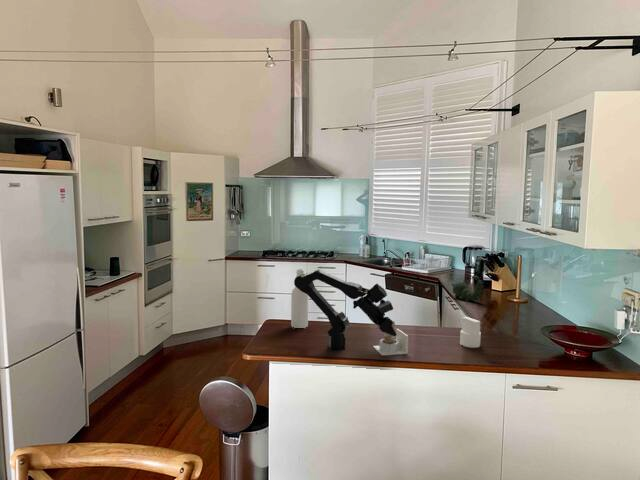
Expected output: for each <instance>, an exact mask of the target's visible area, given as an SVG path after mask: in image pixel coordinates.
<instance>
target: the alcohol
mask: <svg viewBox="0 0 640 480" xmlns="http://www.w3.org/2000/svg"><path fill="white" fill-rule="evenodd" d="M295 273H296V277H297V276H300V275H302V274H305V269H304V268H303V269H302V268H297V269H296V272H295ZM296 277H295V278H296ZM290 298H291V301H290V302H291V303H290V308H291V309H290V326H291V328H293V327H294V328H293V329H295V328H304V329H307V328H308V326H309V296H308V295H307V294H306V293H304V292H302V291H300V290H299V289H298V288H297V287H296V286H295V285H294V288H293V289H292V290H291V297H290ZM306 327H307V328H306Z"/></svg>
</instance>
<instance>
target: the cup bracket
mask: <svg viewBox="0 0 640 480" xmlns="http://www.w3.org/2000/svg"><path fill="white" fill-rule="evenodd" d="M395 330H396V331H395V332H396V334H397V335H396V336H395V338H394V344H387V343H384V338H382V339H380V340H379V344H378V345H372V347H373V349H375V350H376V351H377V352H378V353H379V355H381V356H395V355H396V356H397V355H408V349H409V335H408V334H406V333H405V332H403V331H402V330H401V329H399V328H396V329H395Z"/></svg>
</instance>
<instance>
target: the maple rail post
mask: <svg viewBox="0 0 640 480" xmlns="http://www.w3.org/2000/svg"><path fill="white" fill-rule="evenodd" d="M392 321H393V324H392V327H393V329H394V331H395V330H396V329H395V328H396V327H395V326H396V325H395V324H396V322H395V320H392ZM395 332H396V331H395ZM383 333H384V334H383V335H384V336H383V337H384V338H383V339H384V343H387V344H394V339H395V336H393V335H390V334H387V333H385V332H383Z"/></svg>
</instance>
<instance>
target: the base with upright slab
mask: <svg viewBox="0 0 640 480" xmlns="http://www.w3.org/2000/svg"><path fill="white" fill-rule="evenodd" d="M461 318H462V320H461V330H460V332H459V334H460V336H459V344H460V345H461V346H462V345H463V346H462V347H465V348H472V349H473V348H474V349H475V348H480V347H481V339H482V338H481V336H482V335H481V334H482V333H481V321H480V320H477V319H474V318H471V317H469V316H463V317H461Z"/></svg>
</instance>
